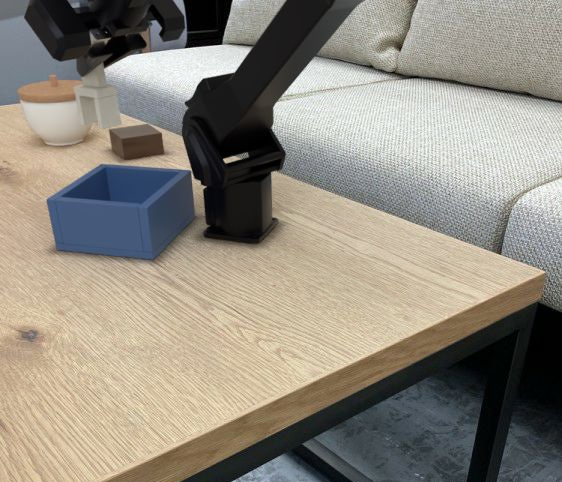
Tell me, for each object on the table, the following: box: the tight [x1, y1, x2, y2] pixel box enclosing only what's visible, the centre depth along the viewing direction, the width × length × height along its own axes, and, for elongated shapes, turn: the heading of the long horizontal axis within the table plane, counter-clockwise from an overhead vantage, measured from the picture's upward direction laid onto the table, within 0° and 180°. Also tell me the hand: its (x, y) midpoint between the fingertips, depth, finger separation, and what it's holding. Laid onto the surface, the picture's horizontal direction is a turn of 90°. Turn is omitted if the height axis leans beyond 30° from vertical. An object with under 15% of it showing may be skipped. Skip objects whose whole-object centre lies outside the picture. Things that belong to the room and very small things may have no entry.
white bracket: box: [74, 62, 122, 130], centre depth 83 cm, size 4×3×10 cm
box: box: [46, 163, 196, 261], centre depth 75 cm, size 11×12×6 cm
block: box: [108, 123, 165, 161], centre depth 102 cm, size 6×6×3 cm
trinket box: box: [16, 74, 93, 147], centre depth 106 cm, size 11×11×9 cm
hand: (85, 72), depth 84 cm, fingers closed on white bracket
